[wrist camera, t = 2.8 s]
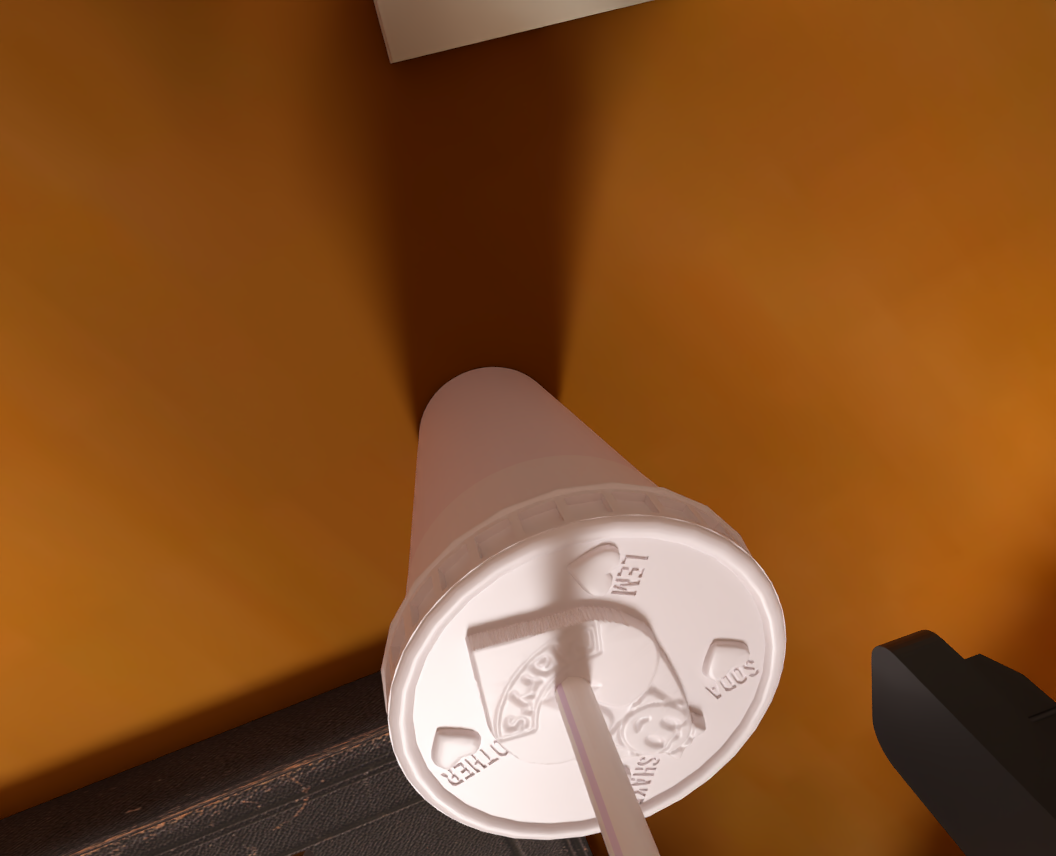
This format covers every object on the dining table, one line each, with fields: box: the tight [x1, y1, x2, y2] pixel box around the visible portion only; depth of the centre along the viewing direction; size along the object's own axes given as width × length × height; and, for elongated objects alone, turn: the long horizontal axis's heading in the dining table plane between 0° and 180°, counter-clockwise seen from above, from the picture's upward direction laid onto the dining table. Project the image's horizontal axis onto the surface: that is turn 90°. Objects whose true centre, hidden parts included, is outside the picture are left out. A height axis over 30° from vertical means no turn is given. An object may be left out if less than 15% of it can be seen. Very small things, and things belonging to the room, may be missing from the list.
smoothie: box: [381, 367, 786, 856], centre depth 14 cm, size 6×6×14 cm
